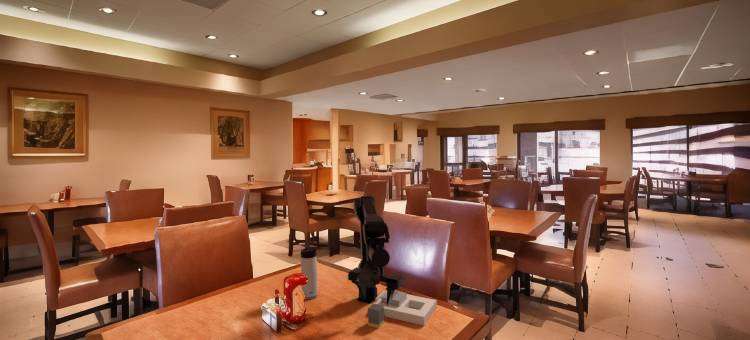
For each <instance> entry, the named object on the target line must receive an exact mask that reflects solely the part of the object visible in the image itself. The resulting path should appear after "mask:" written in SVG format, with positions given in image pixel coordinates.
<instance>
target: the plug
mask: <svg viewBox="0 0 750 340" xmlns="http://www.w3.org/2000/svg"><path fill="white" fill-rule="evenodd" d="M367 320H368V321H367V326H368V327H372V328H375V329H380V328H381V327H382V326H383V325H384V324H385V316H384V306H383V305H378V304H373V303H372V304H371V305H370V306H369V307H368V308H367Z"/></svg>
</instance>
